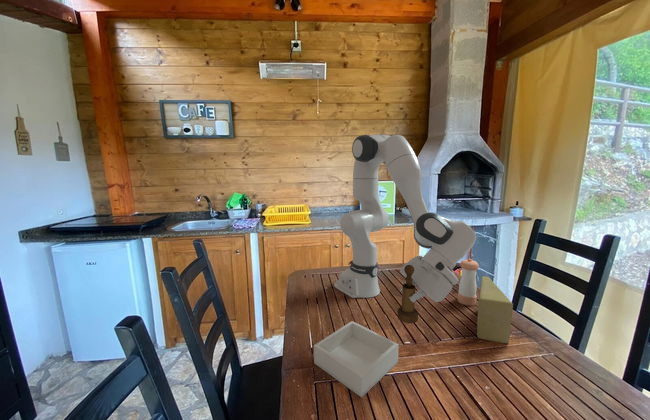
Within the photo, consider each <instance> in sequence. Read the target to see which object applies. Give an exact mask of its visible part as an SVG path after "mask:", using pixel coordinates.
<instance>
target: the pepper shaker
mask: <svg viewBox="0 0 650 420" xmlns="http://www.w3.org/2000/svg"><path fill="white" fill-rule="evenodd" d="M459 265H460V268H461V276H460V280H459V284H458V291H457V297H456V298H457V299H456V300H457V301H458V303H459V304H462V305H464V306H469V307H470V306H475V305H476V304H477V299H478V297H477V288H478V287H477V270H478V269H479V267H480V265H479V263H478V262H477V261H476V260H474V259H471V258H468V259H463V260H461V261H460V264H459Z"/></svg>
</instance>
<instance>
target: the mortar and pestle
mask: <svg viewBox="0 0 650 420" xmlns="http://www.w3.org/2000/svg"><path fill="white" fill-rule="evenodd" d="M404 271H405V273H406V275H407V277H405V280H406V283H405V282H404V283H405V284H404V283H402V287H401V288H402V292H401V306H400V307H398V308H397V312H396V313H397V319H398V320H399V321H400V322H402V323H404V324H415V323H417V322H418V320H419V312H418V310H417V309H416V308H415V302H416V301H415V302H414V303H413V302H412V301H411V300H410V299H409V298H408V297H409V296H410V295H411V294H415V293H416V285H414V284H412V281H413V279H412V278H411V276H412V274H413V273H414V267H413V266H412V265H406V266H405V268H404Z"/></svg>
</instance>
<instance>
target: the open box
mask: <svg viewBox="0 0 650 420" xmlns="http://www.w3.org/2000/svg"><path fill="white" fill-rule="evenodd" d="M399 345H400V344H399V343H398V342H395V341H393V340H391V339H390V338H387V337H386V336H384V335H382V334H379V333H377V332H375V331H373V330H371V329H370V328H368V327H365V326H363V325H361V324H359V323H357V322H355V321H353V320H352V321H350V322H348V323H346V324H345V325H343V326H342V327H340V328H339V329H337V330H335V331H334V332H333V333H331V334H330V335H328V336H326V337H325V338H323V339H322V340H320V341H318V342H317V343H315V344H314V345H313V360H314V361H313V362H314V365H316V366H318V367H319V368H320V369H321V370H323V371H324V372H326V373H327V374H329V375H330V376H332V377H333V378H334V379H335V380H336V381H338V382H339V383H341V384H342V385H344V386H345V387H346V388H347V389H349V390H350V391H351V392H353V393H355V394H356V395H357V396H358V397H360V398H363V397H364V396H365V395H366V394H368V392H369V391H370V390H372V388H373V387H374V386H375V385H376V384H377V383H379V382H380V380H381V379H382V378H383V377H385V375H386V374H388V372H390V370H392V369H393V368H394V367H395V365H397V364H398V363H399V347H400V346H399Z"/></svg>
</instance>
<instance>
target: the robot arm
mask: <svg viewBox="0 0 650 420" xmlns="http://www.w3.org/2000/svg"><path fill="white" fill-rule="evenodd" d="M351 145H352V146H351V152H352V156H353V158H354V164H353V170H352V195H353V197H354V199H356V200H357V201H359V203H360V209H357V210H351V211H349V212H347V213H344V214H343V215H342V216H341V217H340V220H339V227H340V230H341V232H342V233H343V234H344V235H346V236H347V237H348V238H349V241H350V243H351V247H352V248H351V249H352V260H351V261H349V262H348V263H347V265H348V266H349V267H348V268H347V269H345V270H343V271H342V272H341V273H340V274H339V277H338V279H337V280H336V281H335V282H334V284H333V288H335V289H337V290H339V291H340V292H341V293H343V294H346V295H347V296H348V297H349V298H352V299H356V298H363V299H365V298H367V299H368V298H373V297H376V296H378V295H379V294H380V293H381V290H380V286H379V280H378V272H379V271H378V270H379V263H378V246H377V245H376V243H375V242H373V241H372V240H371V238H370V233H374V232H378V231H379V232H380V231H381V230H382V229H385V228H386V227H387V226H388V224H389V221H390V217H389V213H388V212H387V210H385V208H384V207H383V206H382V203H381V201H380V197H379V196H380V195H379V167H380V165H381V164H382V163H384V164H385V167H386V170H387V172H388V173H389V176H390V178H391V180H392V182H393V183H394V185H395V187H396V188H397V189H398V191H399V193H400V194H401V196H402V198H403V200H404V201H405V204H406V206H407V208H408V211H409V214H410V217H411V219H412V223H413V226H414V227H413V237H414V238H413V239H414V241H415V242H416V244H417V245H418V246H419V247H422V248H424V249H429V250H428V251H427V252H426V253H425V254H424V255H423V256H422V255H418V256H414V257H413V258H411V259H409V260H408V261H407V262H406V263H404V265H403V266H402V267H401V268H400V270H399V272H400V273H401V275H403V277H405V278H406V277H407V275H406V273H405V271H404V268H405V266H406V265H412V266H413V267H414V273H413V274H412V276H411V278H412V279H413V281H412V284H413V285H414V286H415V287H417V288H418V289H417V292H415V294H411V295H410V296H409V297H408V298H409V299H410V300H411V301H412V302H413V303H414V302H416V301H417V300H419V299H421V298H424V297H425V296H428V298H430V299H431V300H432V301H433V302H435V303H439V302H442V301H443V300H444V299H445V298H446V297H447V296H448V295H449V294H450V292H451V291H452V289H453V288H454V287H453V286H455V285H457V284H458V283H459V282H460V280H459V278H458V277H457V276H456V274H455V273H454V271H453V270H454V268H455V267H456V265H457V262H459V261H460V260H461V259H463V258H464V257H465V256H466V255H467V254H468V253H469V251H470V250H471V249H472V248H473V246H474V244H475V243H476V240H477V235H476V232H475V230H474V228H473V227H472V226H471V225H469V224H468V223H467V222H465V221H463V220H453V219H449V218H446V217H444V216H441V215H440V214H438V213H436V212H429V210H428V207H427V204H426V203H425V200H424V197H423V194H422V193H423V192H422V169H421V166H420V162H419V160H418V157H417V155H416V153H415V151H414V150H413V147H412V146H411V144H410V142H408V140H407V139H406V138H405V137H404V136H403V135H402V134H390V135H388V134H379V133H378V134H362V135H358V136H356V138H355V139H354V141H353V142H352V144H351ZM405 283H406V280H405V281H404V283H403V284H405ZM400 292H401V293H402V287H400Z"/></svg>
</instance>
